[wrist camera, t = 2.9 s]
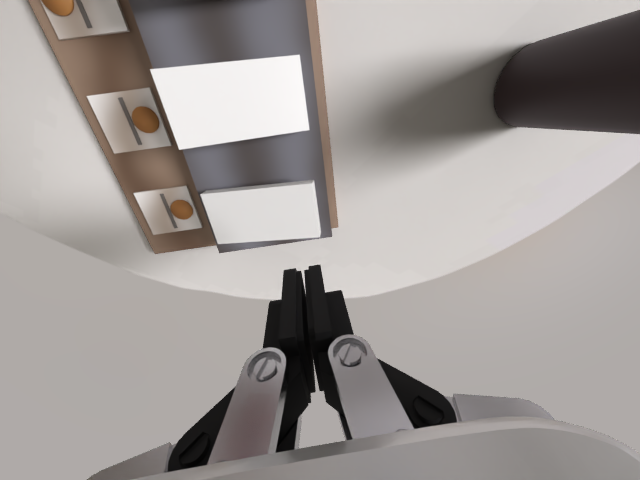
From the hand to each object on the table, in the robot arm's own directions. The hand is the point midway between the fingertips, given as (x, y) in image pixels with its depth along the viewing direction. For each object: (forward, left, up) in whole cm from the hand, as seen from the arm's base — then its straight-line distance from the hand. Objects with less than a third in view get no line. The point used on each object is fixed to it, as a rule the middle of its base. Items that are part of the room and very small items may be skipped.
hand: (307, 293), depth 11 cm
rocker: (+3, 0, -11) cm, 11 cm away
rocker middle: (+3, -8, -11) cm, 14 cm away
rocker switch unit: (+7, -8, -16) cm, 20 cm away
